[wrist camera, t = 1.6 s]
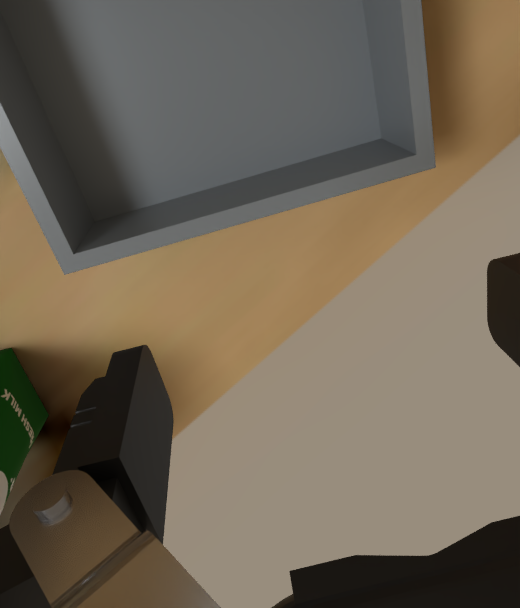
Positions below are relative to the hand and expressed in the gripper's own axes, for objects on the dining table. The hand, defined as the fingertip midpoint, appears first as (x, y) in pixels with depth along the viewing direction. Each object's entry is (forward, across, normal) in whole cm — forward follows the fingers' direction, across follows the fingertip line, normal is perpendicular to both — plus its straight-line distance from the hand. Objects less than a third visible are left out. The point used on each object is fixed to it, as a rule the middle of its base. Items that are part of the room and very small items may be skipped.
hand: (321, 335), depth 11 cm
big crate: (+24, +1, -7) cm, 25 cm away
